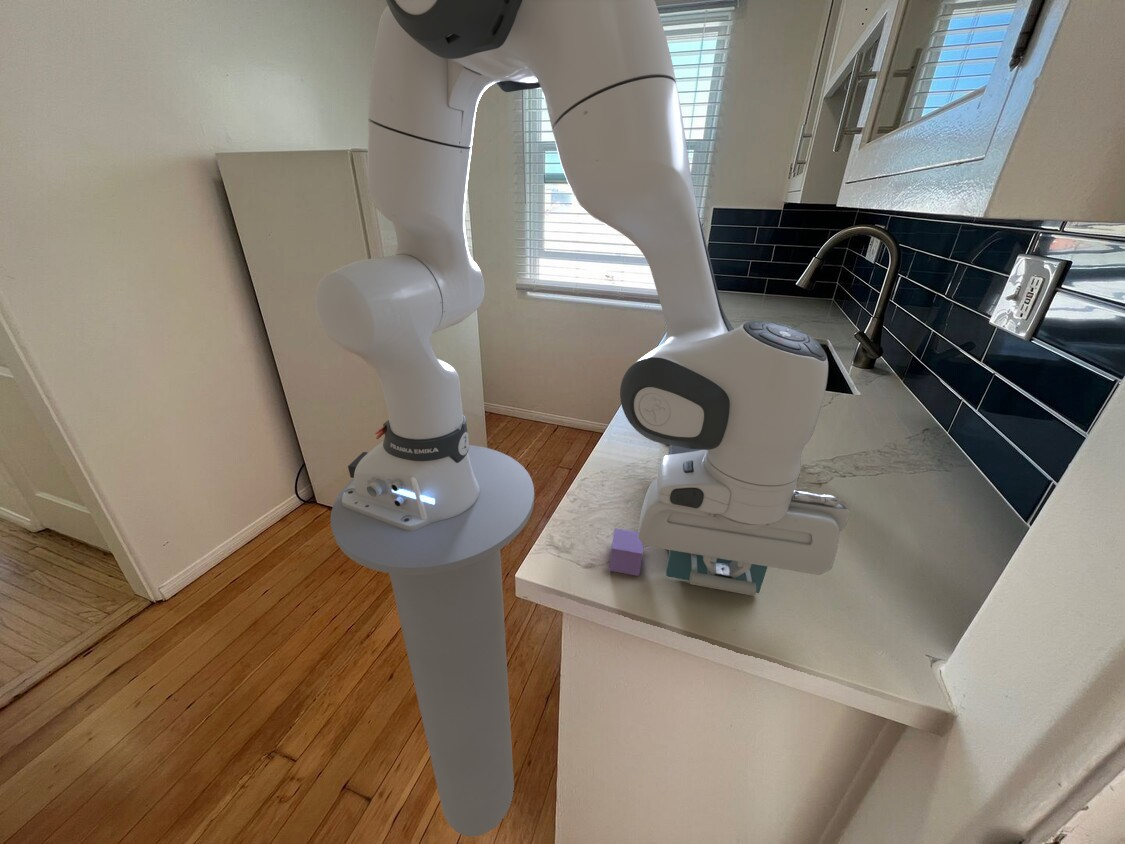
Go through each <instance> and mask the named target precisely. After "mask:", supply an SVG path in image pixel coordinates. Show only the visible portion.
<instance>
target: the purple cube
mask: <svg viewBox="0 0 1125 844" xmlns="http://www.w3.org/2000/svg"><path fill="white" fill-rule="evenodd" d="M613 531H614V532H613V537H612V542H611V548H610V556H609V557H610V559H609V567H608V571H610V572H615V573H620V574H625V575H629V576H635V577H640V574H641V567H642V561H643V553H644V545H643V543H642V542H641V541H640V540H639V538H638V531H635V530H628V529H622V528H617V527H615V528H614V530H613Z"/></svg>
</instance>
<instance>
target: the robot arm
mask: <svg viewBox="0 0 1125 844" xmlns="http://www.w3.org/2000/svg"><path fill="white" fill-rule="evenodd" d="M385 1H386V4H387V6H386V7H385V8H384V10H383V11H382V13H381V16H380V18H379V22H378V27H377V32H376V38H375V42H374V47H373V48H374V49H373V55H372V62H371V69H370V78H369V89H368V90H369V92H368V111H367V112H368V115H367V118H368V119H367V177H366V178H367V181H366V182H367V184H366V187H367V192H368V197H369V199H370V201H371V203H372V204H373V205H374V207H375V208H376V209H377V211H378V212H379V213H380V214H382V215H383V216H384V217H385V218H386V219H387V220H388V221H390V222H391V223H392V225H393V227H394V232H395V234H396V235H395V236H396V243H397V244H396V245H397V247H396V252H395V253H394V255H387V256H380V257H374V258H373V257H372V258H366V259H359V260H356V261H353V262H350V263H349V264H346V265H343V266H341V267H339V268H336V269H335V270H333V271H329V273H326V274H325V275H323V276H322V277H321V278H320V279H319V281H318V282H317V285H316V288H315V291H314V300H313V301H314V302H313V303H314V311H315V315H316V318H317V320H318V323H319V326H320V327H321V329H322V330H323V332H324V333H325V334H326V336H327V337H328V338H329V339H330V340H331V341H332V342H333V343H334V344H335V345H336V346H338V347H340V348H341V349H343V350H345V351H347V352H349V353H351V354H353V355H356V356H358V357H359V358H360V359H362V360H363V361H364V362H365V363H366V364H367V365H368V366H369V367H370V369H371V370H372V371H373V373H374V374H375V376H376V378H377V380H378V382H379V385H380V388H381V392H382V396H383V399H384V404H385V408H386V413H387V418H388V420H386V421H385V422H383V424H382V427H380V428H379V429H378V430H377V431H376V432H375V433H374V434H375V435H376V437H375V439H376V440H379V439H380V438H381V437H382V436H384V439H383V441H381V442H379V444H377V445H376V446H374V447H373V448H372V449H371V450H369V451H362V453H360V454H359V455H358V456H357V457H356V458H355V459H354V460H353V461H352V462H350V463H349V465H347V469H348V474H349V476H350V478H352V479H353V478H354V480H353V481H352V483H351V484H350V485H349V486H348V487H347V489H346V490H345V492H344V494H343V497H342V506H343V507H345V508H348V509H350V510H353V511H356V512H358V513H361V514H364V515H366V516H369V517H372V518H375V519H377V520H380V521H383V522H385V523H388V524H391V525H393V526H396V527H399V528H402V529H404V530H407V531H415V530H418V529H420V528H422V527H424V526H426V525H428V524H430V523H433V522H437V521H442V520H446V519H449V518H452V517H455V516H457V515H459V514H461V513H463V512H464V511H466V510H467V509H469V508H470V507H471V506H472V505H473V504H474V503H475V502H476V500H477V498H478V496H479V493H480V488H479V484H478V482H477V480H476V478H475V476H474V473H473V470H472V467H471V463H470V459H469V455H468V449H469V447H468V445H470V444H469V443H470V442H469V441H470V440H469V433H468V423H467V419H466V416H465V415H464V412H463V411H464V410H463V402H462V401H463V400H462V390H461V379H460V376H459V373H458V372H457V370H456V369H455V368H454V367H453V366H452V365H451V364H449V363H447V362H446V361H444V360H442V359H439V358H437V355H436V354H435V352H434V349H433V345H432V334H434V333H437V332H440V331H442V330H446V329H448V328H450V327H453V326H456V325H458V324H460V323H462V322H463V321H464V320H466V319H467V318H469V317H470V316H471V315H472V314H473V313H474V312H476V311H477V310H478V309H479V308H480V307H481V305H482V304H483V301H484V299H485V293H486V285H485V280H484V276H483V273H482V271H481V269H480V267H479V266H478V264H477V262H476V261H474V259H473V258H472V256H471V253H470V250H469V246H468V240H467V234H466V218H465V217H466V201H467V192H468V191H467V190H468V182H469V173H470V165H471V157H472V148H473V139H474V130H475V121H476V114H477V113H476V112H477V108H478V105H479V101H480V100H481V97H482V95H483V94H484V92H485V91H486V90H488V88H489V87H491V86H492V85H494V84H497V86H498V87H499V88H500V89H501V91H503V92H505V93H512V92H519V91H525V90H537V89H541V91H542V95H543V98H544V102H545V105H546V109H547V113H548V119H549V122H550V126H551V131H552V133H553V138H554V142H555V146H556V151H557V154H558V158H559V161H560V166H561V168H562V171H563V175H564V176H565V178H566V182H567V184H568V185H569V188H570V190H571V192H572V194H573V196H574V198H575V200H576V202H577V204H578V205H579V206H580V208H581V209H583V210H584V211H585V212H586V213H587V214H588V215H590V216H591V217H592V218H594V219H595V220H597V221H598V222H600V223H602V224H603V225H606V226H607V227H610V228H612V229H613V230H616V231H617V232H619V233H620V234H621V235H622V236H624V237H625V238H627V239H628V240H629V241H631V242H632V243H633V244H634V245H635V246H636V247H637V249H638V250H640V252H641V253H642V255H643V256H644V258H645V260H646V262H647V264H648V266H649V270H650V272H651V275H652V279H653V283H654V286H655V289H656V293H657V296H658V300H659V303H660V306H661V310H662V314H663V316H664V320H665V324H666V333H665V334H666V335H665V338H664V342H663V343H662V344H661V345H659V346H657V347H655V348H654V349H652V350H650V351H649V352H648V353H646V354H645V355H643V356H642V357H640V358H639V359H638V360H637V361H635V362H634V363H633V364H632V365H631V366H629V368H628V369H627V370H626V371H625V373H624V375H623V377H622V380H621V383H620V389H619V398H620V404H621V408H622V412H623V413H624V416H625V418H626V420H627V421H628V422H629V424H630V425H631V426H632V427H633V429H634V430H635V431H636V432H638V433H639V434H640V435H641V436H643V437H645V438H646V439H648V440H650V441H653V442H655V443H659V444H664V445H667V446H670V445H672V446H677V447H683V448H689V449H697V450H699V451H694V452H687V453H680V454H672V455H668V454H667V455H664V456H662V457H661V459H660V462H659V464H658V465H659V466H658V469H657V477H656V478H655V479H653V481H651V483H650V484H649V486H648V488H647V490H646V493H645V496H644V499H643V502H642V506H641V511H640V515H639V522H638V530H637V532H638V538H639V540H640V541H641V542H642V543H643V546H645V547H649V548H655V549H656V548H657V549H661V550H668V551H670V550H673V551H679V552H685V553H691V554H697V555H703V561H704V563H705V565H706V567H707V574H709V575H714V576H720V577H726V578H731V579H736V577H738V576H740V575H741V574H743V573H744V572H746V571H747V570H749V569H750V567H751V564H756V565H762V566H768V567H767V568H773V569H774V568H775V569H781V570H786V571H791V572H797V573H803V574H809V575H815V576H821V575H822V576H823V575H824V574H826V573H828V572H829V571H831V570H832V568H833V566H834V563H835V560H836V556H837V553H838V549H839V541H840V533H841V532H842V531H843V530H844V529H845V528H846V526H847V524H848V521H849V519H850V517H851V509H850V507H849V505H848V504H847V503H846V501H845V502H844V501H843V500H841V499H840V498H839V496H837V495H833V494H829V493H823V494H821V493H815V492H812V491H811V492H810V491H807V490H799V489H796V486H797V484H798V480H799V478H800V474H801V473H802V453H803V451H804V449H805V446H806V445H807V444H808V443H809V441H810V440H811V439H812V437H813V434H814V432H815V428H816V426H817V423H818V420H819V417H820V413H821V410H822V406H823V402H824V398H825V394H826V390H827V384H828V379H829V378H828V377H829V361H828V356H827V352H826V351H825V349H824V348H823V347H822V345H821V344H820V342H818V340H816V339H815V338H813V337H812V336H810V335H809V334H808V333H806V332H804V331H802V330H800V329H797V328H795V327H792V326H790V325H786V324H784V323H780V322H774V321H765V320H751V321H747V322H744V323H742V324H741V325H740V326H738V327H736V328H734V327H733V325H732V324H731V322H730V321H729V320H728V318H727V317H728V316H726V314H725V310H724V308H723V305H722V302H721V298H720V295H719V290H718V286H717V282H716V279H715V273H714V269H713V266H712V261H711V258H710V252H709V248H708V245H707V240H706V237H705V233H704V228H703V225H702V221H701V218H700V215H699V210H698V204H697V199H696V194H695V187H694V185H693V183H694V182H693V178H692V173H691V172H692V171H691V167H690V160H689V152H688V146H687V145H688V144H687V139H686V131H685V126H684V121H683V113H682V107H681V101H680V96H679V91H678V85H677V79H676V75H675V74H676V73H675V71H674V65H673V60H672V56H671V52H670V48H669V44H668V40H667V36H666V33H665V29H664V26H663V22H662V20H661V16H660V13H659V12H660V11H659V10H658V6H657V4H656V1H655V0H385ZM717 558H720V559H726V560H732V562H731V563H730V564H723V563H718V562H716V560H717Z"/></svg>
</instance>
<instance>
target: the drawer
mask: <svg viewBox="0 0 1125 844" xmlns="http://www.w3.org/2000/svg"><path fill="white" fill-rule="evenodd" d="M716 562H718V563H723V564H730V563H731V562H732V560H726V559H720V558H717V560H716ZM768 568H769V567H768V566H762V565H756V564H751V567H750V569H749V570H747V571H746V572H744V573H743V574H741V575H740V576H738V577H736V579H731V578H726V577H720V576H714V575H709V574H707V567H706V565H705V563H704V561H703V555H697V554H691V553H685V552H679V551H673V550H668V557H667V561H666V566H665V576H666V577H668V578H673V579H677V580H678V579H679V580H684V581H689V584H690V585H692V586H693V585H694V586H698V587H704V588H709V589H714V590H720V591H726V592H730V593H731V592H732V593H736V594H742V595H747V596H753V597H755V596H756V594H760V591H761V589H762V585H763V582H764V579H765V576H766V573H767V570H768Z"/></svg>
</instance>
